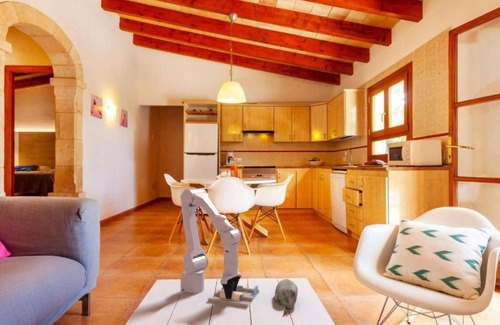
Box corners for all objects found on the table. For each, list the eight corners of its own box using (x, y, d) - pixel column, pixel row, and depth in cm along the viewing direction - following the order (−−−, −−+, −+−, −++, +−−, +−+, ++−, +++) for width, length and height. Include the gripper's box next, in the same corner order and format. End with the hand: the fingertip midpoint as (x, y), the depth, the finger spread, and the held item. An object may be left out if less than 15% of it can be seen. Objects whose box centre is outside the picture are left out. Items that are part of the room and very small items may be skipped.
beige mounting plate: (206, 307, 114) (206, 295, 114) (224, 289, 131) (224, 279, 131) (245, 313, 109) (246, 301, 109) (259, 294, 126) (260, 283, 126)
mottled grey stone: (302, 303, 110) (290, 277, 113) (278, 314, 110) (267, 287, 114) (304, 298, 122) (293, 274, 126) (283, 307, 123) (273, 283, 127)
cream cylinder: (216, 300, 116) (217, 291, 116) (220, 297, 119) (220, 287, 119) (241, 304, 113) (241, 295, 113) (244, 300, 116) (244, 291, 116)
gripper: (233, 267, 108) (233, 305, 108) (246, 256, 122) (246, 290, 122) (216, 265, 110) (215, 302, 110) (230, 255, 124) (230, 288, 124)
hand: (230, 296), depth 116 cm, fingers closed on cream cylinder, 4 cm apart
